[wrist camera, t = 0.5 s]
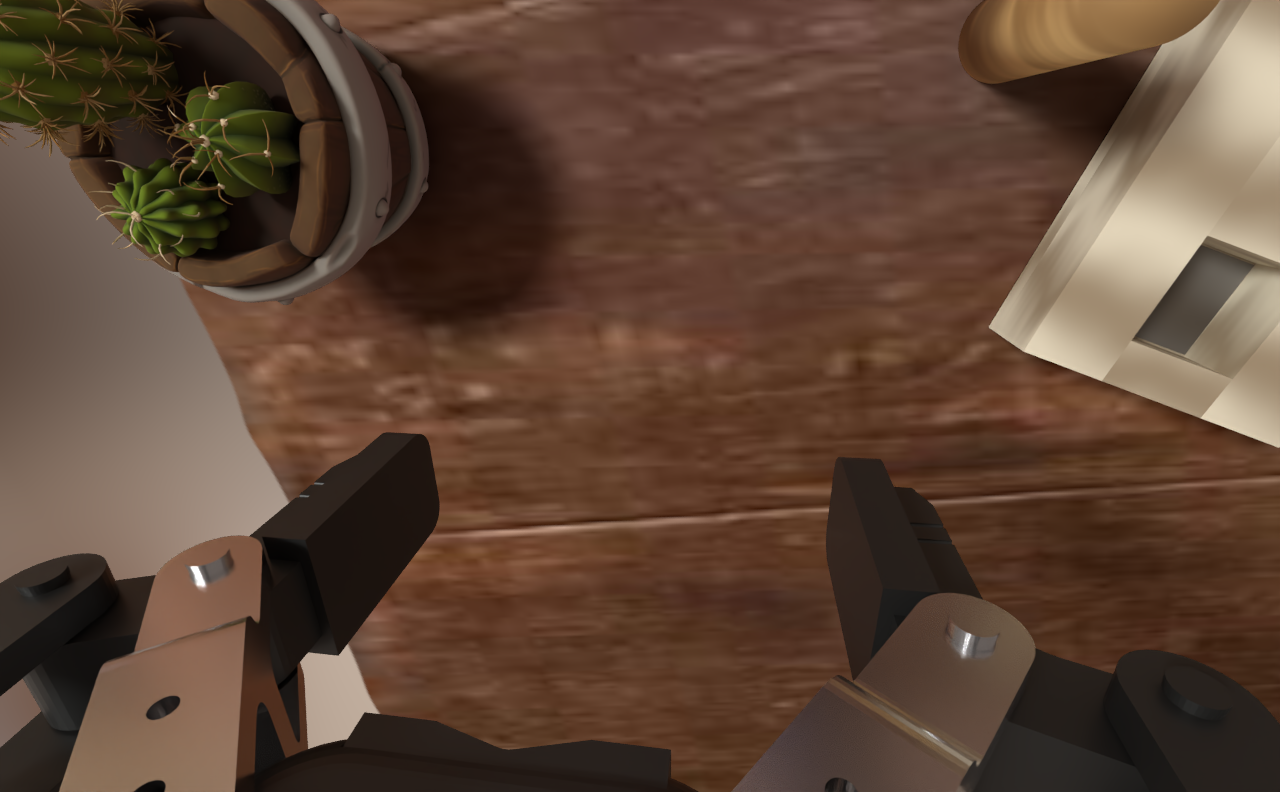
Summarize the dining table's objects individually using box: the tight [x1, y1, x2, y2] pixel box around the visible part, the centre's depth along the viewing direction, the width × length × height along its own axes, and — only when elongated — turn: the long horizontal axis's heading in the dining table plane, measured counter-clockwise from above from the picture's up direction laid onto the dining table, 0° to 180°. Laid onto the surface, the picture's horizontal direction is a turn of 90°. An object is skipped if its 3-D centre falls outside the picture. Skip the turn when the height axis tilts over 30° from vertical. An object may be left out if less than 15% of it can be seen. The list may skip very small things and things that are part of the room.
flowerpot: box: [0, 0, 429, 305], centre depth 27 cm, size 14×15×20 cm
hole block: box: [989, 0, 1280, 448], centre depth 29 cm, size 20×14×4 cm
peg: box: [958, 0, 1220, 84], centre depth 24 cm, size 4×4×12 cm
